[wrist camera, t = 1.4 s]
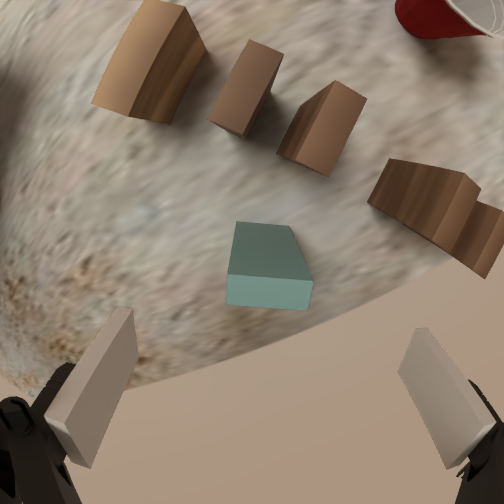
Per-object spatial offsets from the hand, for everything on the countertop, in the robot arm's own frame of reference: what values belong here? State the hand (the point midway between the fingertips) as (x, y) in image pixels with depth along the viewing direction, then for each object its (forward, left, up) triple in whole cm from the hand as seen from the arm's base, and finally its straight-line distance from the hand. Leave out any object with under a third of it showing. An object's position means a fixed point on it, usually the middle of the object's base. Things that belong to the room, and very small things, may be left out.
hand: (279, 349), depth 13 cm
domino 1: (-3, +12, -17) cm, 21 cm away
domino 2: (0, 0, -17) cm, 17 cm away
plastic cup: (+14, +26, -18) cm, 34 cm away
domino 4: (+11, +6, -17) cm, 22 cm away
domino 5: (+16, +5, -17) cm, 24 cm away
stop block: (-10, +14, -17) cm, 24 cm away
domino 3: (+2, +10, -17) cm, 20 cm away
